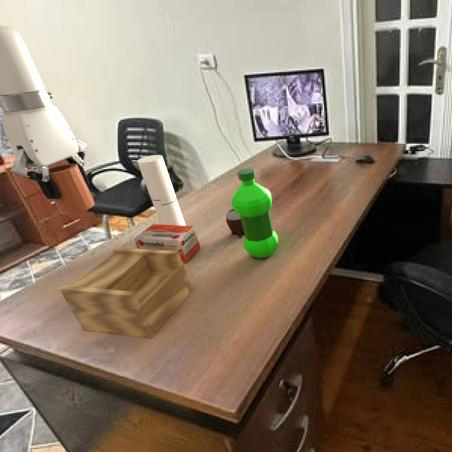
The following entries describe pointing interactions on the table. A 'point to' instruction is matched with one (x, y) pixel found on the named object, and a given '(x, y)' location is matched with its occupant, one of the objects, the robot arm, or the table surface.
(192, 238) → the medicine box
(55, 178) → the jar
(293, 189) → the table surface
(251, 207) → the plastic bottle
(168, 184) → the cylindrical container
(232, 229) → the mate gourd
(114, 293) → the wooden crate
